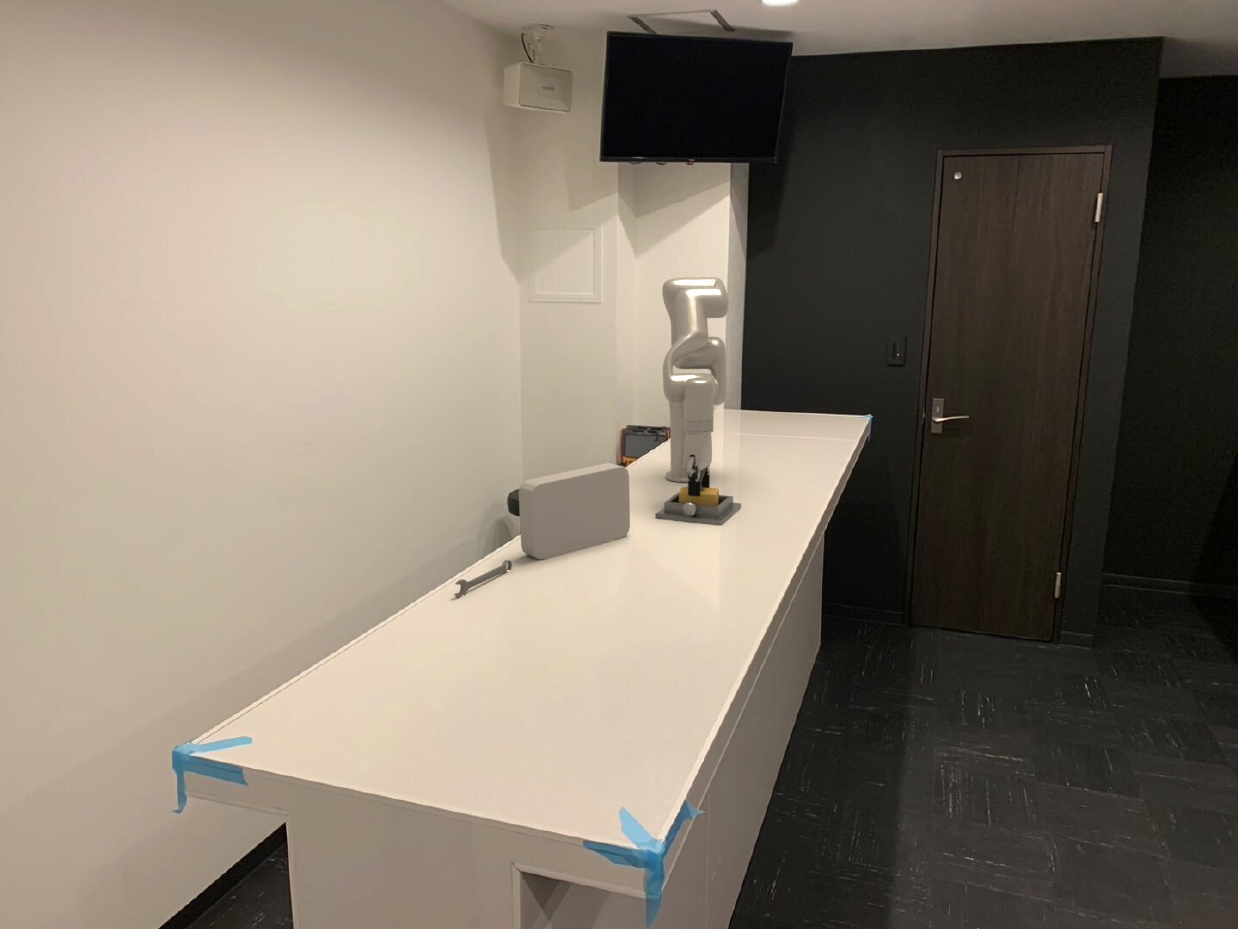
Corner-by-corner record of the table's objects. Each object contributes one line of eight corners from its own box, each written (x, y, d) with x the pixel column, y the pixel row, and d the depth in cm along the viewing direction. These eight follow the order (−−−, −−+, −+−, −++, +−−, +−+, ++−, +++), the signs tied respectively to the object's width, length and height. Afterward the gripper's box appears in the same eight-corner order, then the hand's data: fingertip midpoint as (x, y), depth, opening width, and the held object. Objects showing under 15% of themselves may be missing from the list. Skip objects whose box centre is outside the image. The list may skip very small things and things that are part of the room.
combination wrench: (508, 555, 209) (450, 582, 192) (512, 556, 208) (455, 583, 191) (508, 571, 210) (451, 599, 193) (513, 572, 209) (456, 600, 192)
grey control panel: (611, 529, 237) (609, 459, 232) (630, 536, 231) (629, 464, 227) (515, 554, 219) (512, 479, 215) (534, 562, 213) (531, 485, 209)
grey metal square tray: (678, 501, 260) (678, 484, 259) (741, 507, 253) (741, 490, 252) (655, 518, 245) (655, 500, 244) (721, 525, 238) (721, 507, 237)
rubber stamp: (718, 501, 250) (719, 457, 247) (716, 507, 245) (716, 462, 242) (681, 500, 252) (681, 456, 249) (678, 506, 247) (678, 461, 244)
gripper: (696, 418, 253) (696, 483, 257) (673, 431, 237) (673, 499, 241) (723, 420, 250) (722, 485, 254) (701, 433, 234) (701, 502, 238)
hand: (698, 491), depth 248 cm, fingers closed on rubber stamp, 6 cm apart
